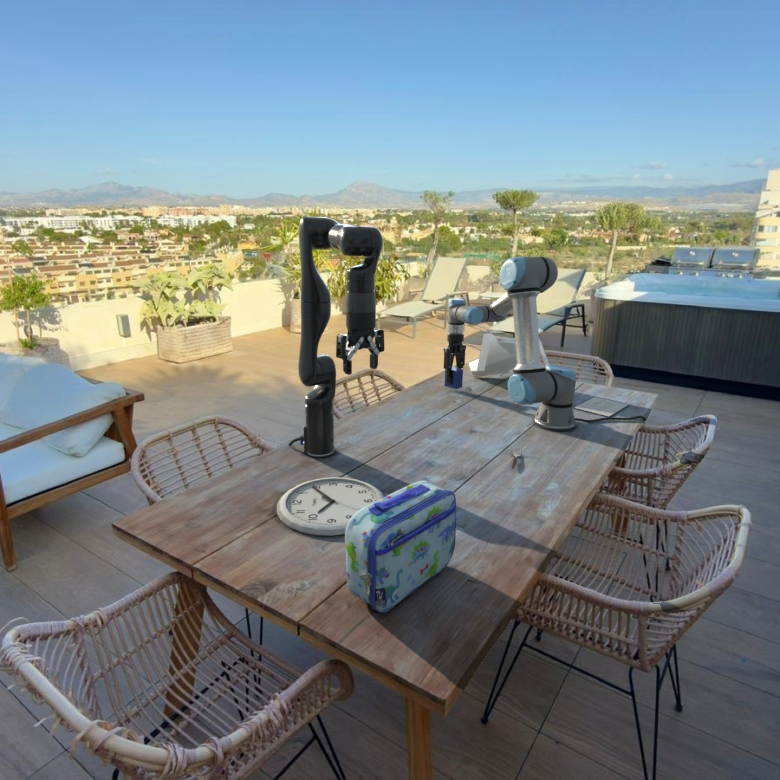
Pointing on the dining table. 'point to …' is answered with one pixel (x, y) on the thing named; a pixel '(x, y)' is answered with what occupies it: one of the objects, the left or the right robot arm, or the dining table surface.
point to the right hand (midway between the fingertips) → (453, 382)
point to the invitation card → (601, 406)
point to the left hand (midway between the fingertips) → (360, 371)
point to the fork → (516, 456)
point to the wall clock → (325, 504)
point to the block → (455, 378)
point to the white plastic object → (498, 356)
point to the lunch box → (399, 543)
